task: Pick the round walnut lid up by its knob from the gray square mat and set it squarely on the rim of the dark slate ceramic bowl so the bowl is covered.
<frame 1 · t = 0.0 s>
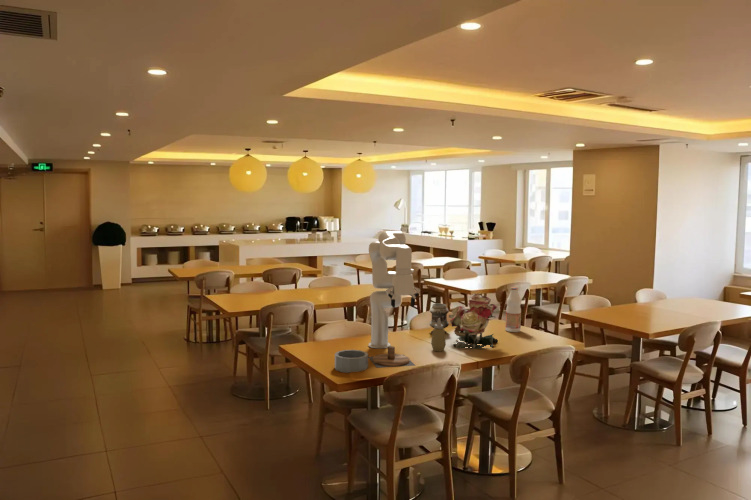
hand: (402, 306, 278), 31 cm above the table, fingers open, 9 cm apart
rose bouquet: (472, 345, 331), on the table
gray square mat: (391, 362, 293), on the table
fruit juice: (512, 331, 368), on the table
squeeze bottle: (438, 350, 317), on the table
walnut lid: (391, 360, 293), point 1 cm above the table, touching gray square mat
slate bowl: (351, 367, 282), on the table
apothecary jar: (438, 332, 360), on the table
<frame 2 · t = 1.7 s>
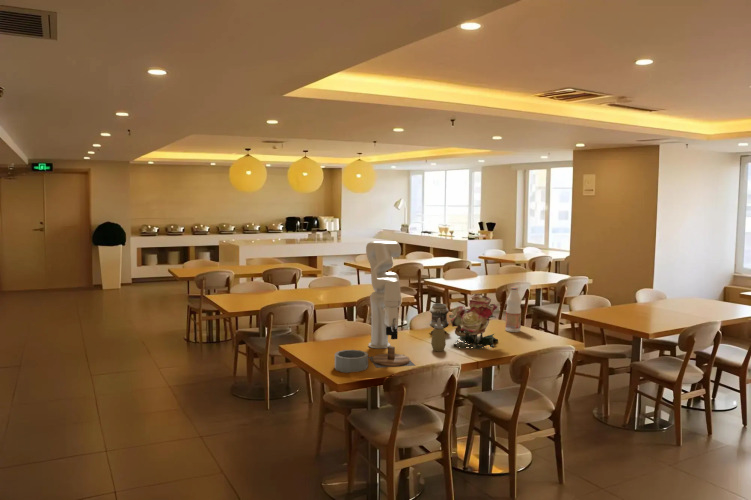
hand: (391, 337, 292), 13 cm above the table, fingers open, 9 cm apart
nothing on the table moved.
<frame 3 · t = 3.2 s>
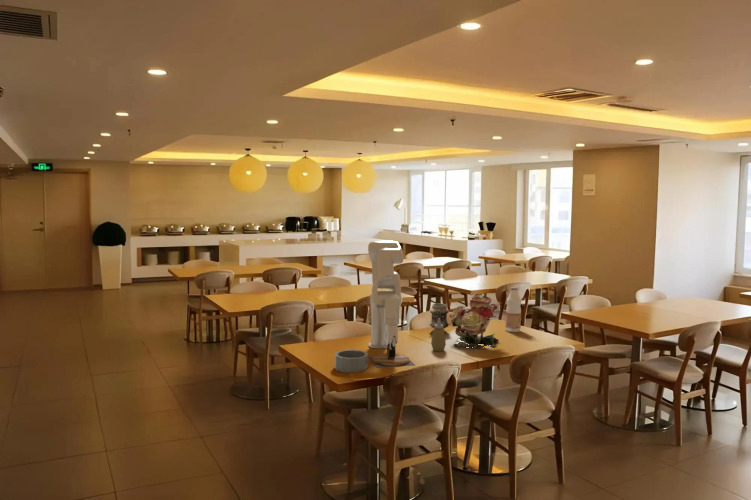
hand: (391, 355, 293), 3 cm above the table, fingers closed on walnut lid, 3 cm apart
walnut lid: (391, 360, 293), point 1 cm above the table, touching gray square mat, gripper
everything else where it was.
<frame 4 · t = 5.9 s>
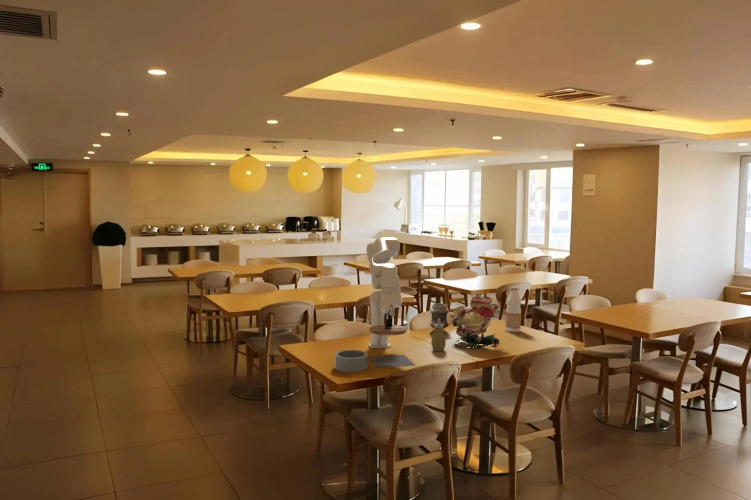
hand: (388, 325, 291), 19 cm above the table, fingers closed on walnut lid, 3 cm apart
walnut lid: (387, 330, 291), point 17 cm above the table, touching gripper
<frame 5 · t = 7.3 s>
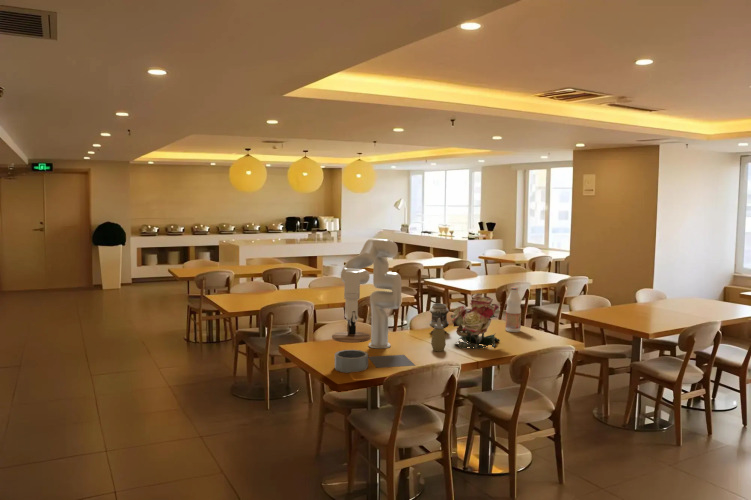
hand: (351, 332, 280), 18 cm above the table, fingers closed on walnut lid, 3 cm apart
walnut lid: (351, 338, 281), point 15 cm above the table, touching gripper
when the fingers open (11 cm above the table, at t = 8.7 s): walnut lid drops 1 cm, resting on slate bowl.
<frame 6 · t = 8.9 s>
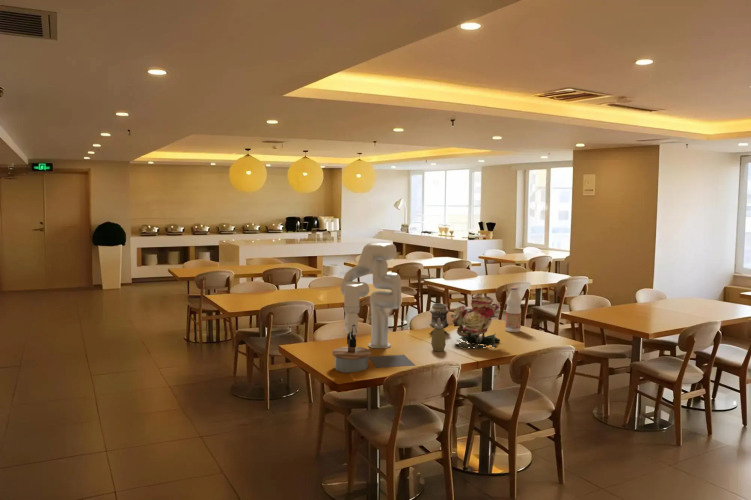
hand: (351, 345, 281), 11 cm above the table, fingers open, 5 cm apart
walnut lid: (351, 354, 282), point 7 cm above the table, touching slate bowl
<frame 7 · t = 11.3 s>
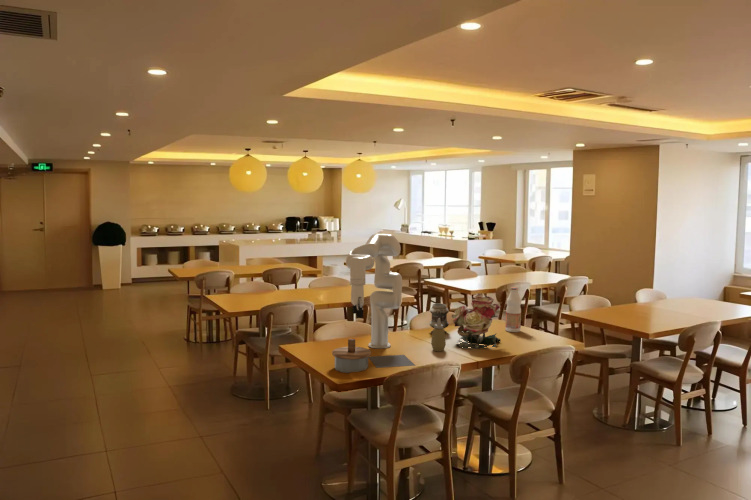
hand: (357, 315, 284), 25 cm above the table, fingers open, 9 cm apart
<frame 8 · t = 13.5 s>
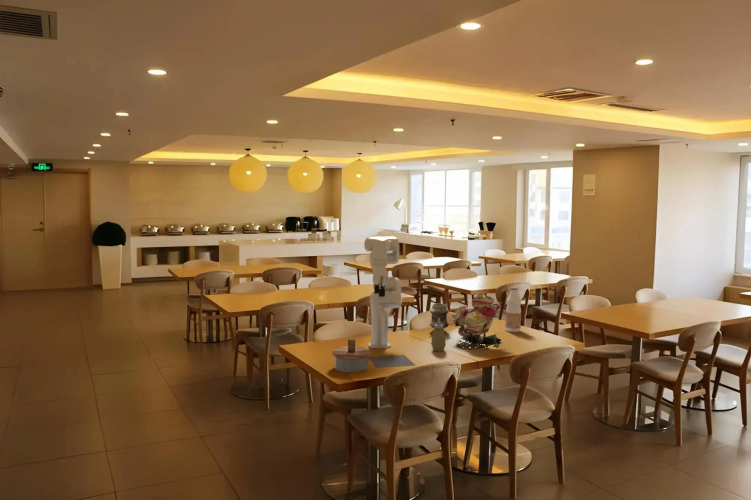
hand: (379, 295, 299), 33 cm above the table, fingers open, 9 cm apart
at the end: walnut lid 0.1 cm off-centre on the slate bowl, point 7.0 cm above the slate bowl's base; walnut lid tilted 0°; the gripper is holding nothing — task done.
